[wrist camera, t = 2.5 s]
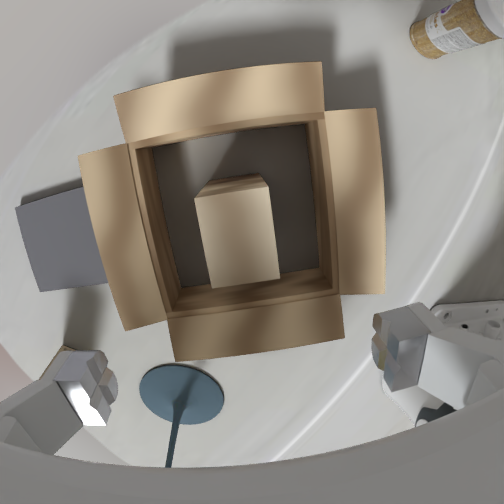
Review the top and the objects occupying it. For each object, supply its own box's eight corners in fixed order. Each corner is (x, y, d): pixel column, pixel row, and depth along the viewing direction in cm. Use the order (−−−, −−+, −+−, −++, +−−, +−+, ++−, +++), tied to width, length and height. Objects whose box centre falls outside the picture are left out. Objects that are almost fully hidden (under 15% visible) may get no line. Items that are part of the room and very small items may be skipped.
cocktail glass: (193, 313, 33) (145, 554, 9) (278, 411, 38) (304, 588, 14) (87, 372, 35) (12, 530, 11) (174, 449, 40) (154, 593, 17)
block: (258, 172, 28) (268, 186, 19) (267, 235, 30) (280, 278, 21) (209, 180, 28) (194, 198, 19) (220, 243, 30) (211, 288, 21)
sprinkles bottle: (414, 15, 23) (490, -27, 10) (446, 39, 24) (528, 12, 11) (403, 43, 24) (484, 5, 11) (436, 68, 25) (524, 47, 12)
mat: (90, 184, 28) (86, 186, 27) (114, 278, 31) (110, 282, 30) (20, 205, 28) (15, 207, 27) (44, 288, 31) (40, 292, 30)
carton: (343, 76, 25) (369, 60, 19) (360, 298, 33) (383, 330, 27) (102, 114, 26) (70, 109, 19) (152, 328, 33) (137, 365, 27)
